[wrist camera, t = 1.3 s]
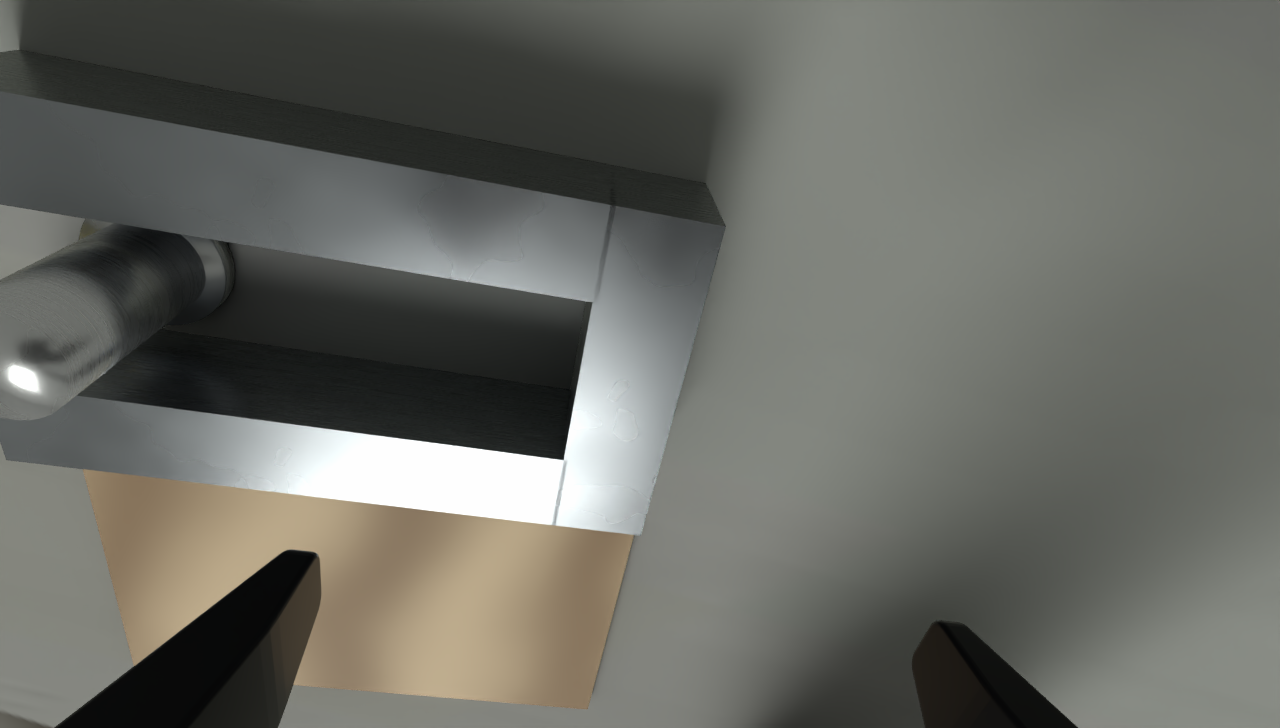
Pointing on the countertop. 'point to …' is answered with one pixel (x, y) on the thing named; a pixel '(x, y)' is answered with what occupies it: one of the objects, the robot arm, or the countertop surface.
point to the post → (99, 308)
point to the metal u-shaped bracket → (376, 236)
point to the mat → (374, 586)
